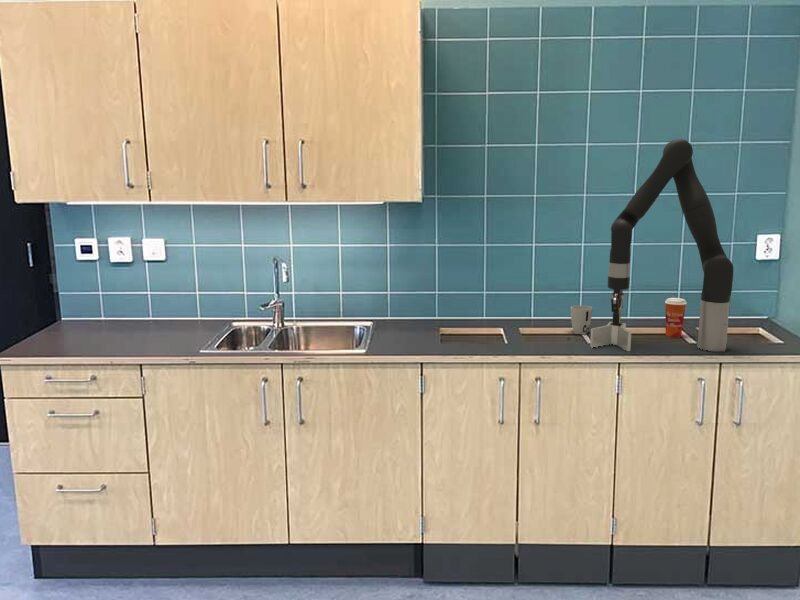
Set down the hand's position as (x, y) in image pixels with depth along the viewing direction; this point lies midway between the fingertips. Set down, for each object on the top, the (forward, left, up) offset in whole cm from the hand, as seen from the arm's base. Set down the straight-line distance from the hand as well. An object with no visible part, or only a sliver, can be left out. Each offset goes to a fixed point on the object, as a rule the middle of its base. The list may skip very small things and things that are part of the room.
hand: (616, 322), depth 261 cm
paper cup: (-18, -21, -8) cm, 29 cm away
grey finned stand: (0, +4, -8) cm, 9 cm away
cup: (+15, -11, -8) cm, 20 cm away
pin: (0, 0, -4) cm, 4 cm away
